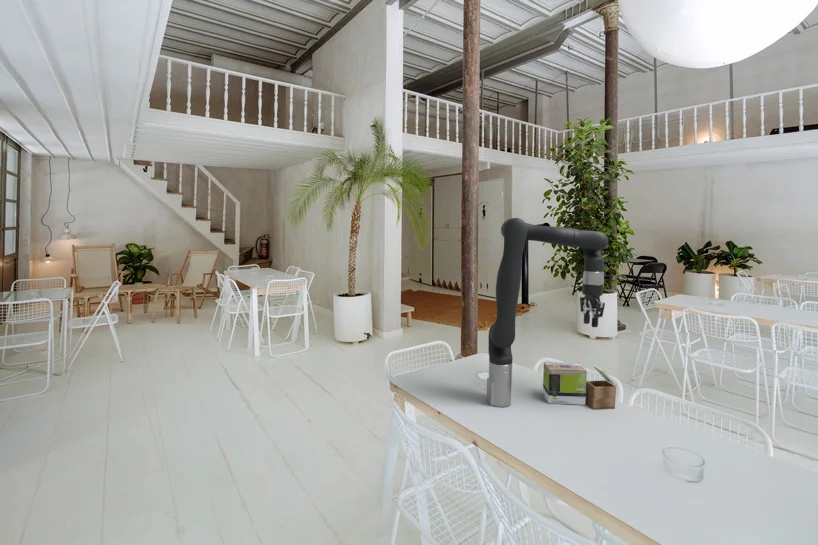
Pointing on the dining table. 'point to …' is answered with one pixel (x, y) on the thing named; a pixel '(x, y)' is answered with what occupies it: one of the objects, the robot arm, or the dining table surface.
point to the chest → (600, 394)
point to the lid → (604, 375)
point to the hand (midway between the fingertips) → (590, 325)
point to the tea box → (564, 383)
